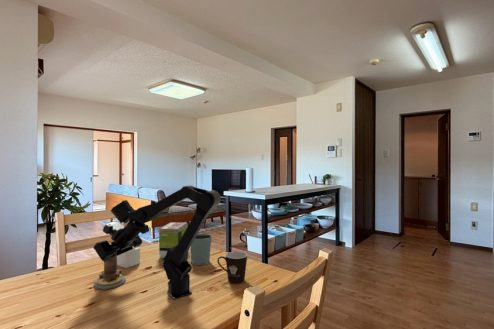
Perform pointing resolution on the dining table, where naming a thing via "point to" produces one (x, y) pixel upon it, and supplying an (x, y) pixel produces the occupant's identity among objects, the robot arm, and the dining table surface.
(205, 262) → the drinking glass
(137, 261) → the medicine bottle
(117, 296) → the dining table surface
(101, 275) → the gear spindle
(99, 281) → the hub
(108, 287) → the plate
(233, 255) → the coffee mug
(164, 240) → the tea box
